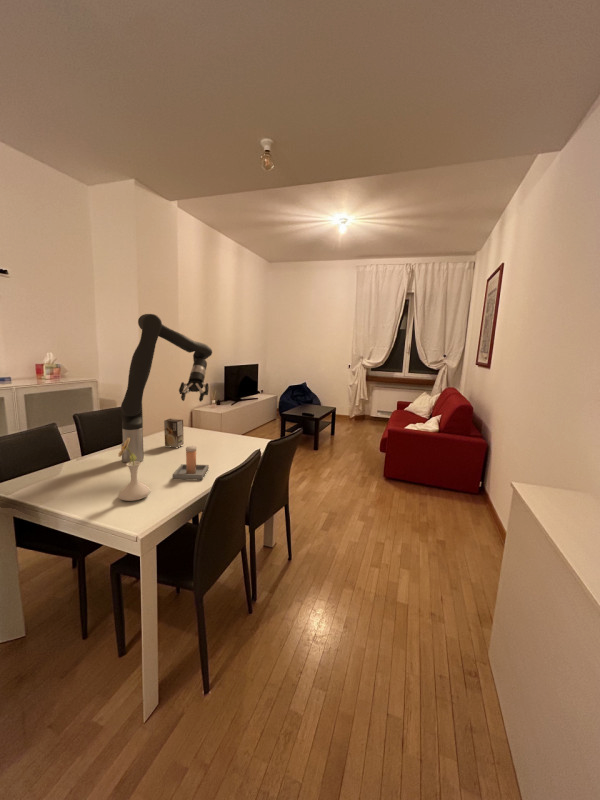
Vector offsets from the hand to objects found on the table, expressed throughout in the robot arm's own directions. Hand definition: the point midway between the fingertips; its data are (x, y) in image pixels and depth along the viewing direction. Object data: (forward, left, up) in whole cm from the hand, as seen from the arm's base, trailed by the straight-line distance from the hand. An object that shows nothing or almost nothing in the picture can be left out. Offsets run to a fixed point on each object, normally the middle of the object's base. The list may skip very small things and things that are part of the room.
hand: (191, 400), depth 164 cm
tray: (+4, -16, -33) cm, 36 cm away
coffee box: (-18, +27, -33) cm, 46 cm away
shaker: (+4, -16, -32) cm, 36 cm away
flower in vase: (-11, -41, -33) cm, 54 cm away
